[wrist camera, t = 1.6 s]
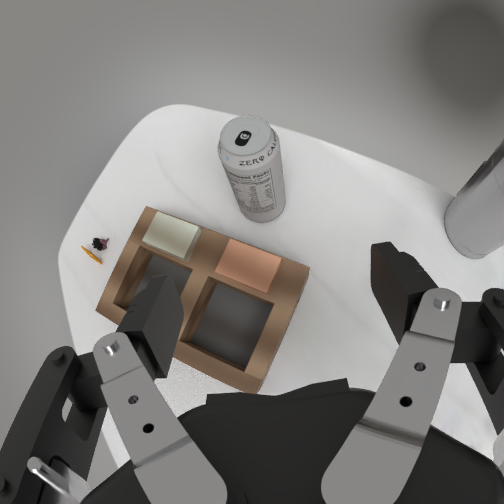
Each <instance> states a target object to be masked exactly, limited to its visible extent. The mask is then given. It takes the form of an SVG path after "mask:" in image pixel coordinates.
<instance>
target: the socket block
mask: <svg viewBox="0 0 504 504" xmlns="http://www.w3.org/2000/svg"><path fill="white" fill-rule="evenodd" d="M309 268H310V267H307V266H305V265H302V264H299V263H297V262H294V261H291V260H289V259H286V258H283V257H281V256H278V255H276V254H273V253H270V252H268V251H265V250H262V249H260V248H257V247H254V246H252V245H249V244H246V243H244V242H241V241H238V240H236V239H233V238H230V237H228V236H225V235H222V234H220V233H217V232H214V231H212V230H209V229H206V228H204V227H201V226H198V225H196V224H193V223H190V222H188V221H185V220H182V219H180V218H177V217H174V216H172V215H169V214H166V213H163V212H161V211H158V210H155V209H153V208H150V207H147V206H146V207H145V209H144V211H143V213H142V214H141V216H140V218H139V220H138V222H137V224H136V226H135V228H134V230H133V232H132V233H131V235H130V237H129V239H128V241H127V243H126V245H125V247H124V249H123V251H122V253H121V255H120V257H119V260H118V262H117V264H116V266H115V268H114V270H113V272H112V274H111V276H110V279H109V281H108V283H107V285H106V287H105V290H104V292H103V294H102V296H101V299H100V301H99V303H98V305H97V308H96V310H95V311H97V312H98V313H100V314H101V315H103V316H105V317H106V318H108V319H109V320H111V321H112V322H114V323H116V324H117V325H120V323H121V321H122V319H123V317H124V315H125V313H127V312H126V311H127V310H128V308H129V307H130V304H131V302H132V300H133V299H134V297H135V296H136V295H137V294H138V293H139V292H140V291H141V290H143V289H146V287H147V285H148V283H149V281H150V279H151V278H152V277H153V276H159V275H166V274H170V275H171V276H172V277H173V280H174V282H175V285H176V288H177V291H178V294H179V297H180V299H181V302H182V305H183V310H184V320H183V323H182V327H181V330H180V333H179V337H178V340H177V343H176V347H175V350H174V354H173V357H174V358H176V359H178V360H180V361H181V362H183V363H185V364H187V365H189V366H191V367H193V368H195V369H197V370H199V371H201V372H203V373H205V374H207V375H209V376H211V377H213V378H215V379H217V380H219V381H221V382H223V383H225V384H228V385H230V386H232V387H234V388H236V389H238V390H241V391H243V392H245V393H252V394H257V393H258V392H259V390H260V388H261V386H262V384H263V381H264V379H265V377H266V375H267V373H268V370H269V368H270V366H271V364H272V362H273V359H274V357H275V355H276V353H277V350H278V348H279V346H280V343H281V341H282V339H283V337H284V334H285V332H286V330H287V327H288V325H289V323H290V320H291V318H292V315H293V313H294V311H295V308H296V306H297V303H298V301H299V299H300V296H301V294H302V291H303V289H304V286H305V284H306V281H307V279H308V275H309Z"/></svg>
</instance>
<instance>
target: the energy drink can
mask: <svg viewBox="0 0 504 504" xmlns="http://www.w3.org/2000/svg"><path fill="white" fill-rule="evenodd" d="M218 154H219V157H220V160H221V162H222V165H223V167H224V170H225V172H226V174H227V177H228V179H229V182H230V184H231V187H232V189H233V192H234V194H235V197H236V199H237V202H238V204H239V207H240V209H241V211H242V213H243V214H244V215H245V216H246V217H247V218H248V219H250V220H252V221H255V222H268V221H271V220H273V219H275V218H276V217H278V216H279V215H280V214H281V212H282V211H283V209H284V206H285V191H284V181H283V171H282V162H281V153H280V144H279V138H278V135H277V134H276V132H275V131H274V130H273V129H272V128H271V127H270V125H269V124H268V122H266V121H265V120H264V119H262V118H260V117H258V116H253V115H245V116H240V117H237V118H234V119H232V120H231V121H229V122H228V123H227V124H226V125H225V126H224V127H223V129H222V131H221V134H220V141H219V144H218Z"/></svg>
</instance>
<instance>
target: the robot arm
mask: <svg viewBox="0 0 504 504" xmlns="http://www.w3.org/2000/svg"><path fill="white" fill-rule="evenodd" d="M445 228H446V232H447V235H448V237H449V239H450V241H451V243H452V244H453V246H454V247H455V248H456V249H457V250H458V251H459V252H460V253H461V254H463V255H465V256H466V257H469V258H472V259H479V258H483V257H484V256H486V255H488V254H489V253H491V252H493V251H494V250H496V249H497V248H499V247H501V246H502V245H504V139H503V141H502V142H501V144H500V145H499V146H498V147H497V149H496V150H495V152H494V153H493V154H492V155H491V156H490V158H489V159H488V160H487V161H484V162H483V164H482V165H481V166H480V167H479V169H478V170H477V171H476V172H475V173H474V175H473V176H472V177H471V178H470V180H469V181H468V182H467V183H466V184H465V186H464V187H463V188H462V189H461V191H459V193H458V194H457V197H456V198H455V199H454V200H453V202H452V203H451V204H450V205H449V207H448V208H447V211H446V214H445ZM371 287H372V291H373V294H374V296H375V298H376V300H377V302H378V304H379V305H380V307H381V309H382V311H383V313H384V315H385V317H386V319H387V322H388V324H389V326H390V328H391V330H392V332H393V334H394V336H395V338H396V340H397V342H398V344H399V347H398V349H397V352H396V354H395V356H394V358H393V360H392V362H391V365H390V367H389V369H388V371H387V373H386V375H385V377H384V379H383V381H382V383H381V385H380V387H379V389H378V391H377V392H373V391H370V390H365V389H359V388H349V385H348V381H347V378H344V379H338V380H333V381H327V382H321V383H315V384H310V385H308V386H305V387H302V388H299V389H296V390H293V391H290V392H287V393H284V394H281V395H278V396H270V395H260V394H252V393H243V392H236V393H220V394H207V399H206V404H205V405H201V406H199V407H196V408H193V409H191V410H189V411H187V412H185V413H184V414H182V415H180V416H179V417H178V418H176V416H175V415H174V413H173V412H172V410H171V409H170V407H169V406H168V404H167V402H166V401H165V399H164V398H163V396H162V395H161V393H160V391H159V390H158V388H157V387H156V385H155V383H154V381H155V378H167V375H168V371H169V368H170V364H171V361H172V357H173V354H174V350H175V347H176V343H177V340H178V337H179V333H180V330H181V327H182V323H183V320H184V310H183V305H182V302H181V299H180V297H179V294H178V291H177V288H176V285H175V282H174V280H173V277H172V276H171V275H170V274H166V275H159V276H153V277H152V278H151V279H150V281H149V283H148V285H147V287H146V289H143V290H141V291H140V292H139V293H138V294H137V295H136V296H135V297H134V299H133V300H132V302H131V304H130V307H129V308H128V310H127V311H126V312H127V313H125V315H124V317H123V319H122V321H121V323H120V325H119V326H118V328H117V330H116V332H114V333H110V334H108V335H106V336H104V337H102V338H101V339H100V340H98V342H97V343H96V344H95V346H94V348H93V352H90V353H86V354H83V355H79V356H77V354H76V353H75V351H74V350H73V348H72V347H69V346H64V347H60V348H57V349H56V350H54V351H53V352H51V353H50V354H49V355H48V357H47V358H46V360H45V361H44V363H43V365H42V367H41V368H40V370H39V372H38V374H37V376H36V378H35V380H34V381H33V383H32V385H31V387H30V389H29V391H28V393H27V395H26V397H25V399H24V401H23V403H22V405H21V407H20V409H19V411H18V413H17V415H16V417H15V419H14V421H13V424H12V425H11V428H10V430H9V432H8V434H7V437H6V439H5V441H4V443H3V446H2V448H1V451H0V504H504V356H503V354H502V353H501V351H500V350H501V348H502V349H503V351H504V290H503V289H500V288H491V289H488V290H486V291H485V292H484V293H483V296H482V300H481V302H462V301H461V298H460V297H459V295H458V294H456V293H455V292H453V291H452V290H449V289H445V288H439V287H438V286H437V285H436V284H435V282H434V281H433V280H432V279H431V277H430V276H429V275H428V274H427V272H426V271H424V269H423V268H422V266H421V265H419V263H418V262H417V260H416V259H415V258H414V257H413V256H411V255H409V254H407V253H406V252H399V251H398V250H397V249H396V248H395V246H394V245H393V244H392V243H391V242H383V243H377V244H372V246H371ZM450 363H465V364H466V366H467V368H468V370H469V372H470V374H471V376H472V378H473V380H474V382H475V384H476V386H477V389H478V391H479V393H480V395H481V397H482V399H483V402H484V404H485V406H486V409H487V411H488V413H489V416H490V418H491V420H492V423H493V425H494V428H495V430H496V433H497V435H498V436H497V438H496V440H495V442H494V445H493V454H494V460H493V461H492V460H490V459H489V458H487V457H486V456H484V455H482V454H481V453H479V452H477V451H475V450H473V449H472V448H470V447H468V446H466V445H465V444H463V443H461V442H459V441H458V440H456V439H454V438H452V437H451V436H449V435H447V434H446V433H444V432H442V431H441V430H439V429H437V428H436V427H434V426H432V425H431V421H432V419H433V416H434V413H435V410H436V407H437V404H438V401H439V398H440V395H441V392H442V389H443V386H444V382H445V379H446V376H447V372H448V368H449V365H450ZM67 397H68V398H69V399H70V401H71V402H72V403H73V404H72V407H71V409H70V412H69V414H68V417H67V419H66V422H65V421H64V420H63V418H62V408H63V406H64V403H65V401H66V399H67ZM107 408H109V410H110V413H111V415H112V418H113V420H114V422H115V425H116V427H117V429H118V432H119V434H120V436H121V438H122V441H123V443H124V445H125V447H126V449H127V451H128V453H129V456H130V458H131V459H130V460H129V461H127V462H126V463H125V464H124V465H123V466H122V467H120V468H119V469H118V470H117V471H116V472H114V473H113V474H112V475H111V476H110V477H108V478H107V479H106V480H105V481H104V482H102V483H101V484H100V485H99V486H97V487H96V488H95V489H94V490H92V491H91V492H90V491H89V486H88V484H87V482H86V481H87V477H88V473H89V470H90V466H91V462H92V458H93V455H94V451H95V447H96V444H97V441H98V437H99V434H100V431H101V427H102V424H103V421H104V417H105V414H106V411H107Z"/></svg>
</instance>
